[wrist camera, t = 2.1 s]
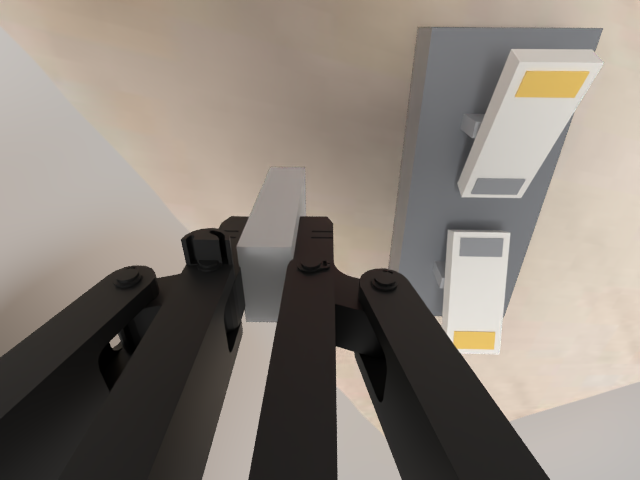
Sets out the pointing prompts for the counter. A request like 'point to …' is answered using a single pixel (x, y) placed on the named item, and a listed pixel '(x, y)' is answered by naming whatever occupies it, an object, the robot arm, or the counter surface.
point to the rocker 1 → (475, 289)
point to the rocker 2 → (526, 119)
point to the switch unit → (462, 150)
